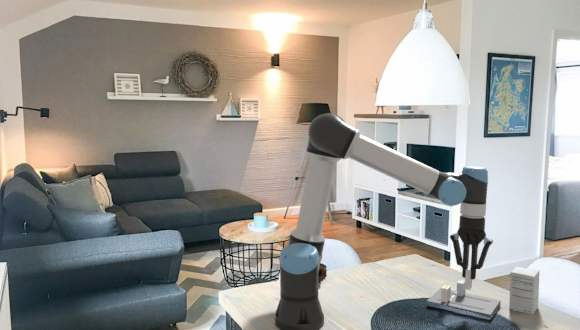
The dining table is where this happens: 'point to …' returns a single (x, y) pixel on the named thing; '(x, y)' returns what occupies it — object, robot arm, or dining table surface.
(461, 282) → the block
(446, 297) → the fader near
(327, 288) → the dining table surface
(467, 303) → the plate
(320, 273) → the pottery mug
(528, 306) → the supplement box
